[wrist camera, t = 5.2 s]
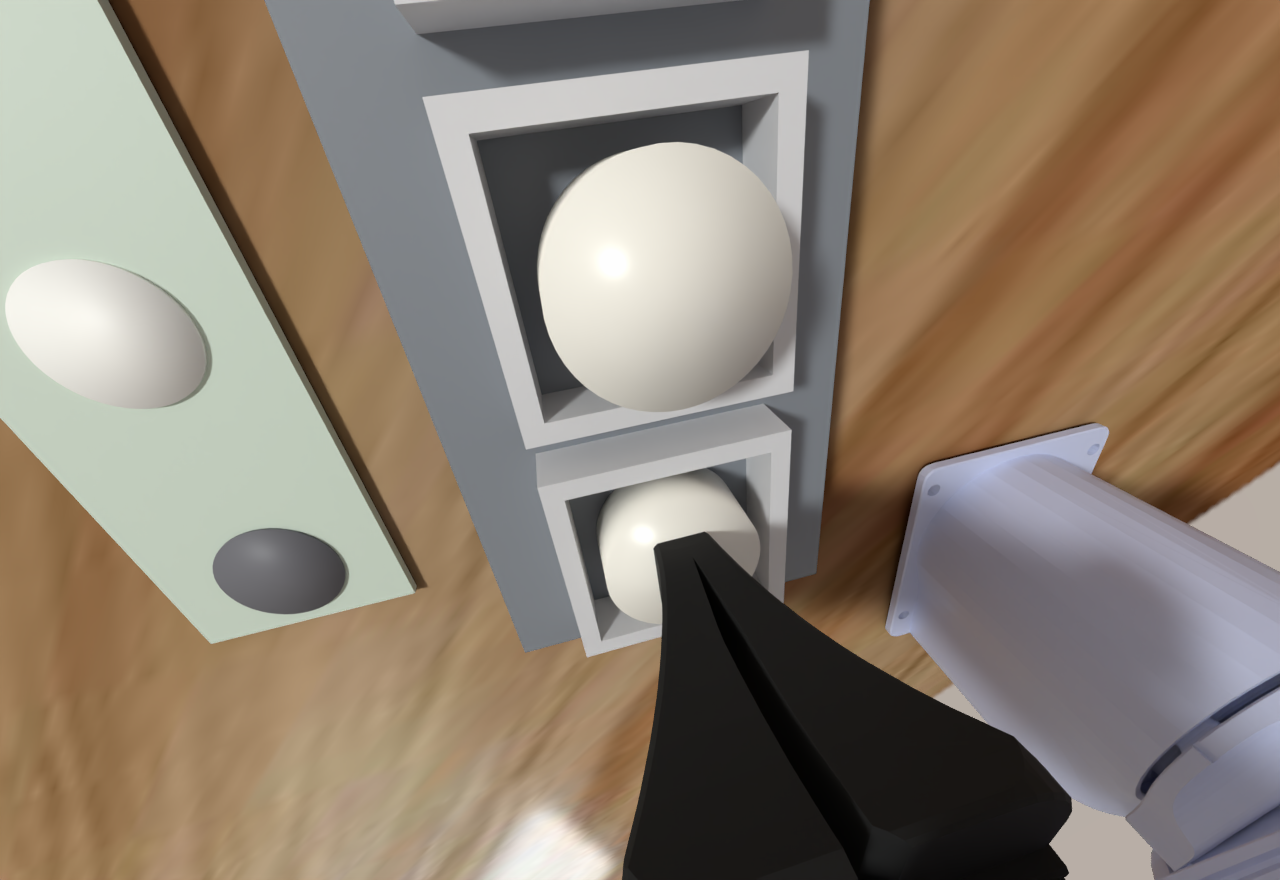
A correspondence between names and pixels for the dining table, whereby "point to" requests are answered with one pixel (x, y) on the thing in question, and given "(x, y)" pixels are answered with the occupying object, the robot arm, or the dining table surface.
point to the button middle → (664, 275)
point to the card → (161, 348)
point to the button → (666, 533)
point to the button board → (510, 234)
